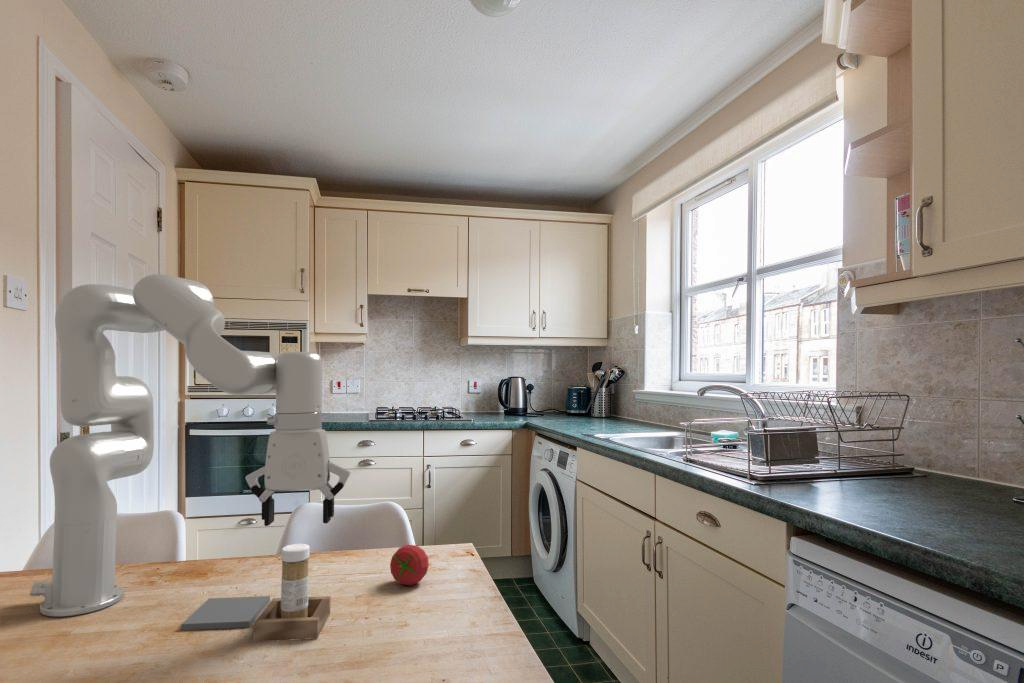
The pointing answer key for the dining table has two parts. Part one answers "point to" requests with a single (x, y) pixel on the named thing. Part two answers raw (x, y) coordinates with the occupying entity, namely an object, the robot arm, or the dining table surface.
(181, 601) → the dining table surface
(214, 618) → the mat
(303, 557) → the spice jar
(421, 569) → the tomato
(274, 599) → the brown wooden square tray
